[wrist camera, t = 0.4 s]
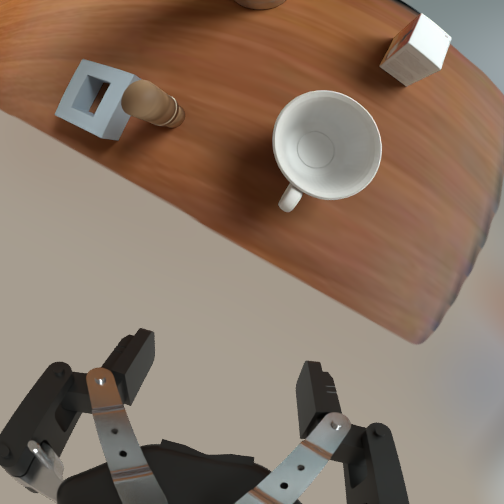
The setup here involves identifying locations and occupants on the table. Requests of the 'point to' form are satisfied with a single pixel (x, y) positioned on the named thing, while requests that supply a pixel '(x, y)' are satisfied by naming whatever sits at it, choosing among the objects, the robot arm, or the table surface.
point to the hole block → (85, 91)
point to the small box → (416, 51)
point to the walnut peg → (151, 104)
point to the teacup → (325, 147)
